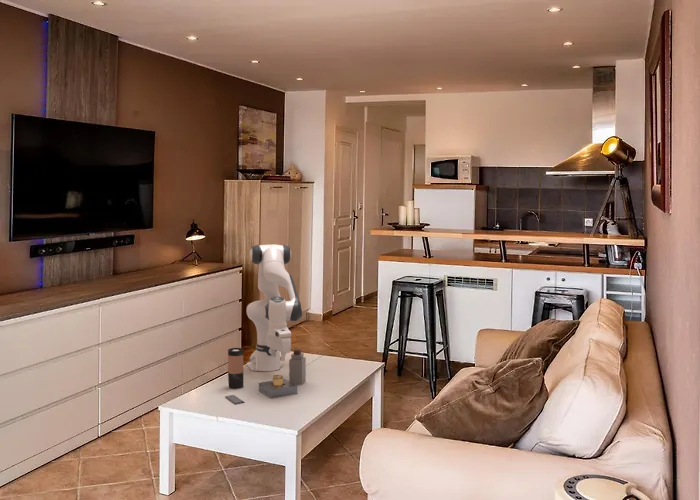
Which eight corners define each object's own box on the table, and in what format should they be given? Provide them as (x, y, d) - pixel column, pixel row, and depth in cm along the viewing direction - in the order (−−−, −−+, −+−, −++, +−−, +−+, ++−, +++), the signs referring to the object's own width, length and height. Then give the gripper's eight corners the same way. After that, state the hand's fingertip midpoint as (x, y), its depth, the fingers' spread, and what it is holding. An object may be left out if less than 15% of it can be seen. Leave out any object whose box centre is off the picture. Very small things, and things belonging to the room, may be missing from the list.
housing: (258, 392, 329) (258, 382, 328) (284, 388, 336) (284, 378, 336) (271, 400, 317) (271, 390, 316) (297, 395, 324) (297, 385, 324)
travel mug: (246, 387, 337) (246, 348, 336) (239, 391, 330) (238, 351, 328) (232, 385, 340) (232, 347, 338) (225, 390, 333) (224, 350, 331)
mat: (225, 397, 320) (225, 396, 320) (248, 393, 327) (248, 392, 327) (235, 404, 310) (235, 402, 310) (258, 400, 317) (258, 398, 317)
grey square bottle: (302, 386, 339) (302, 351, 338) (289, 385, 341) (289, 351, 339) (305, 382, 346) (305, 348, 344) (293, 382, 347) (293, 348, 346)
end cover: (271, 391, 327) (271, 375, 326) (280, 390, 330) (280, 374, 329) (275, 394, 323) (275, 378, 322) (284, 392, 326) (284, 376, 325)
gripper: (262, 327, 331) (263, 355, 332) (281, 334, 313) (281, 363, 315) (274, 326, 334) (274, 353, 335) (293, 333, 317) (293, 362, 318)
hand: (278, 358), depth 325 cm, fingers open, 8 cm apart
